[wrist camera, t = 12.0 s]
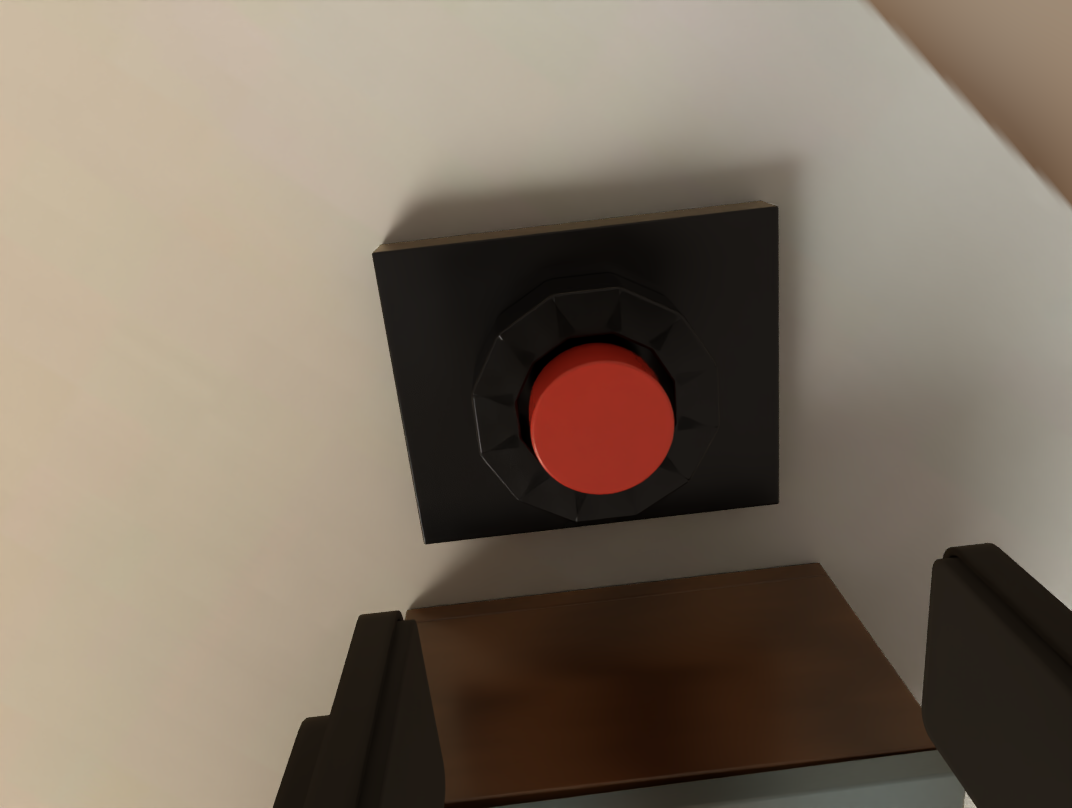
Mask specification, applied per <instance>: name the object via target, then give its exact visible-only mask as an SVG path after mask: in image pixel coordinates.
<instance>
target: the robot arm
mask: <svg viewBox="0 0 1072 808" xmlns="http://www.w3.org/2000/svg"><path fill="white" fill-rule="evenodd" d="M922 719H923V723H924V727H925V730H926V732H927V734H928V736H929V738H930V740H931V741H932V742H933V744H934V745H935V747H936V748H937V750H938V751H939V753H940V754H941V756H942V757H943V759H944V760H945V762H946V763H947V764H948V766H949V767H950V769H951V770H952V772H953V773H954V775H955V776H956V778H957V779H958V781H959V782H960V784H961V785H962V786H963V788H964V789H965V791H966V792H967V794H968V795H969V797H970V798H971V800H972V801H973V803H974V804H975V805H976V807H977V808H1072V611H1071V610H1070V609H1068V608H1067V607H1066V606H1065V605H1064V604H1063V603H1062V602H1060V601H1059V600H1058V599H1057V598H1056V597H1055V596H1054V595H1052V594H1051V593H1050V592H1049V591H1048V590H1047V589H1046V588H1044V587H1043V586H1042V585H1041V584H1040V583H1039V582H1038V581H1036V580H1035V579H1034V578H1033V577H1032V576H1031V575H1030V574H1028V573H1027V572H1026V571H1025V570H1024V569H1023V568H1022V567H1020V566H1019V565H1018V564H1017V563H1016V562H1015V561H1014V560H1012V559H1011V558H1010V557H1009V556H1008V555H1007V554H1006V553H1004V552H1003V551H1002V550H1001V549H1000V548H999V547H997V546H996V545H994V544H991V543H984V544H975V545H966V546H958V547H950V548H948V549H947V550H946V551H945V553H944V555H943V559H938V560H936V561H935V562H934V564H933V568H932V578H931V591H930V604H929V617H928V630H927V643H926V656H925V669H924V682H923V695H922ZM444 803H445V769H444V762H443V757H442V752H441V747H440V741H439V736H438V731H437V726H436V721H435V715H434V710H433V705H432V700H431V694H430V689H429V684H428V679H427V673H426V668H425V663H424V658H423V653H422V647H421V642H420V637H419V632H418V627H417V623H416V621H415V620H414V619H411V620H403V617H402V614H401V612H400V611H399V610H398V611H389V612H381V613H372V614H363V615H360V616H359V618H358V620H357V623H356V627H355V630H354V634H353V637H352V641H351V644H350V648H349V651H348V654H347V658H346V661H345V665H344V668H343V672H342V675H341V679H340V682H339V685H338V689H337V692H336V696H335V699H334V703H333V706H332V710H331V713H330V715H326V716H317V717H309V718H306V719H305V720H304V721H303V722H302V724H301V726H300V729H299V731H298V734H297V737H296V740H295V743H294V746H293V749H292V752H291V755H290V758H289V761H288V764H287V767H286V770H285V773H284V776H283V778H282V781H281V784H280V787H279V790H278V793H277V796H276V799H275V802H274V805H273V808H444Z"/></svg>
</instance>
